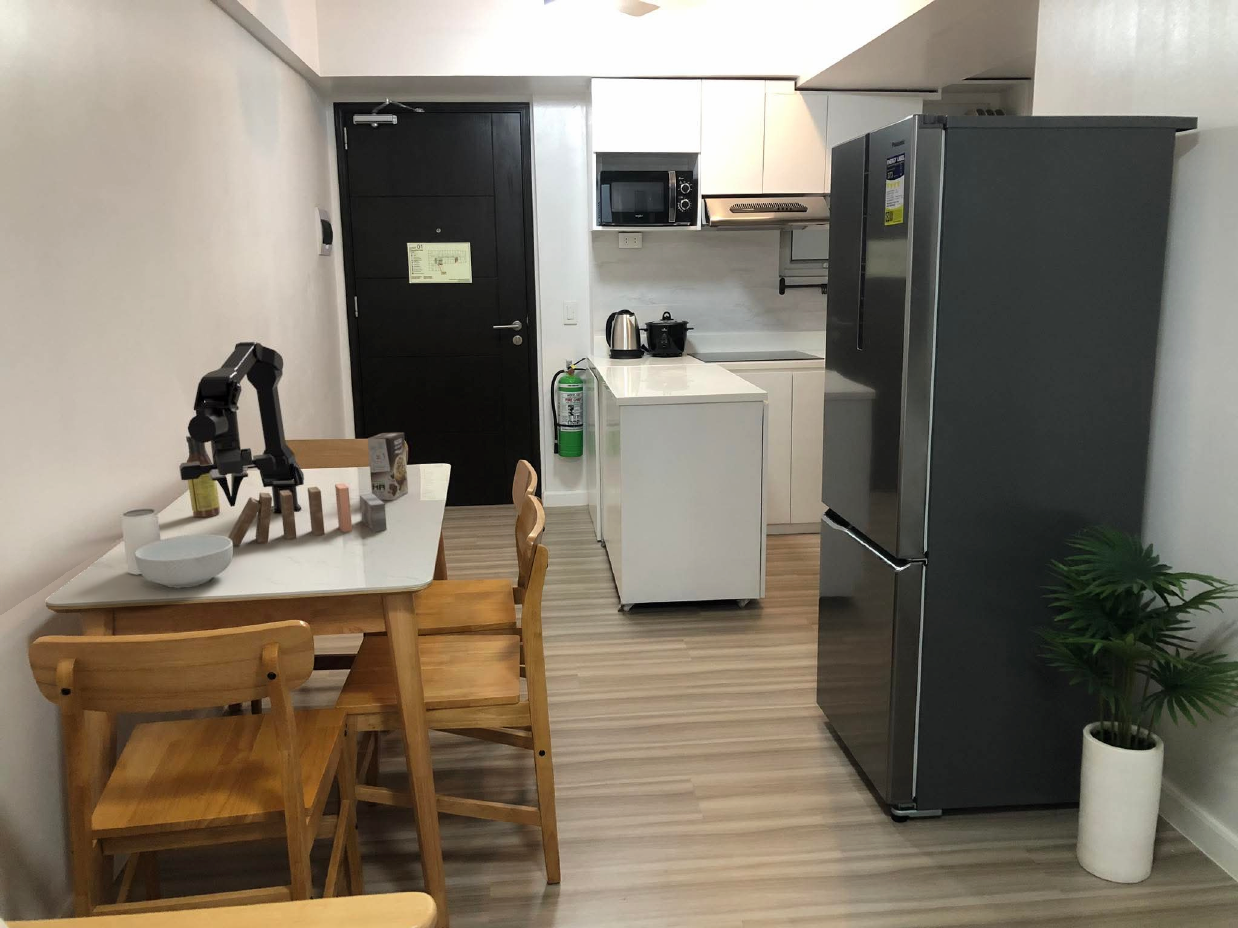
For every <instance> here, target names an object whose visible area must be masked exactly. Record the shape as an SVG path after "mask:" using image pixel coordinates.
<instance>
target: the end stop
mask: <svg viewBox="0 0 1238 928" xmlns="http://www.w3.org/2000/svg"><path fill="white" fill-rule="evenodd" d="M359 503H360V515H361V521H362V522H363V523H364V524H365V525H366V526H367V527H368V528H369V529H370V530H371V531H372V532H373V533H374V532H379V531H386V530H388V528H387V515H386V504H385V502H383V500H380V499H378V498H377V497H376V496H375V495H374V494H372V493H367V494H360V495H359Z"/></svg>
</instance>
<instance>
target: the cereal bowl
mask: <svg viewBox="0 0 1238 928" xmlns="http://www.w3.org/2000/svg"><path fill="white" fill-rule="evenodd" d="M233 553H234V544H233V543H232V541H231V540H230V539H229V538H228V537H227V536H224V535H223V536H222V535H217V534H216V535H215V534H190V535H189V534H188V535H181V536H174V537H173V536H172V537H168V538H164V539H163V538H162V539H161V540H159V541H155V542H152V543H149V544H147V545H144V546H142V547H140V548H139V549H138V550H137V551H136V552H135V560H136V564H137V567H138V570H139V572H140V573H141V574H142V575H141V576H142V577H143V578H145V579H146V580H148V581H149V582H152V583H156V584H159V585H160V584H161V585H164V586H166V587H169V588H172V587H175V588H174V589H181V588H180V587H186V588H192V587H191V586H193V587H197V586H200V585H199V584H201V585H203V584H205V582H206V583H208V582H209V581H210V580H211V579H212V578H214V577H216V576H219V575H220V574H222V573H223V572H225V570H226V569H228V567H229V566H230V564H231V562H232V559H233V555H234V554H233ZM207 581H208V582H207ZM202 583H203V584H202ZM196 585H197V586H196ZM176 587H177V588H176Z"/></svg>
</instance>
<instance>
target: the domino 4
mask: <svg viewBox="0 0 1238 928" xmlns="http://www.w3.org/2000/svg"><path fill="white" fill-rule="evenodd" d="M307 496H308V507H309V516H310V518H309V519H310V526H311V527H310V528H311V532H312V534H313V535H314V536H315V537H317V536H325V533H326V532H325V521H324V513H323V512H324V511H323V502H322V501H323V500H322V491H321V489H320V488H319V487H318V486H312V487H307Z"/></svg>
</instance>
